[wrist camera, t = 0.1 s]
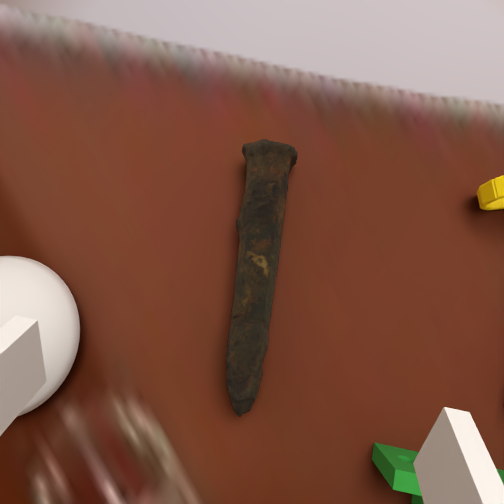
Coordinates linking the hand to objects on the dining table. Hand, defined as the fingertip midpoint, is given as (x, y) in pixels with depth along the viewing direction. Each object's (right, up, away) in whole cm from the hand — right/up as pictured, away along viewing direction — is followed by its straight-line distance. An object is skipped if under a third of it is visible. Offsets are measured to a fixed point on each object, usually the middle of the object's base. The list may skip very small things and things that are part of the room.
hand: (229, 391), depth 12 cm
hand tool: (+2, +3, +16) cm, 17 cm away
